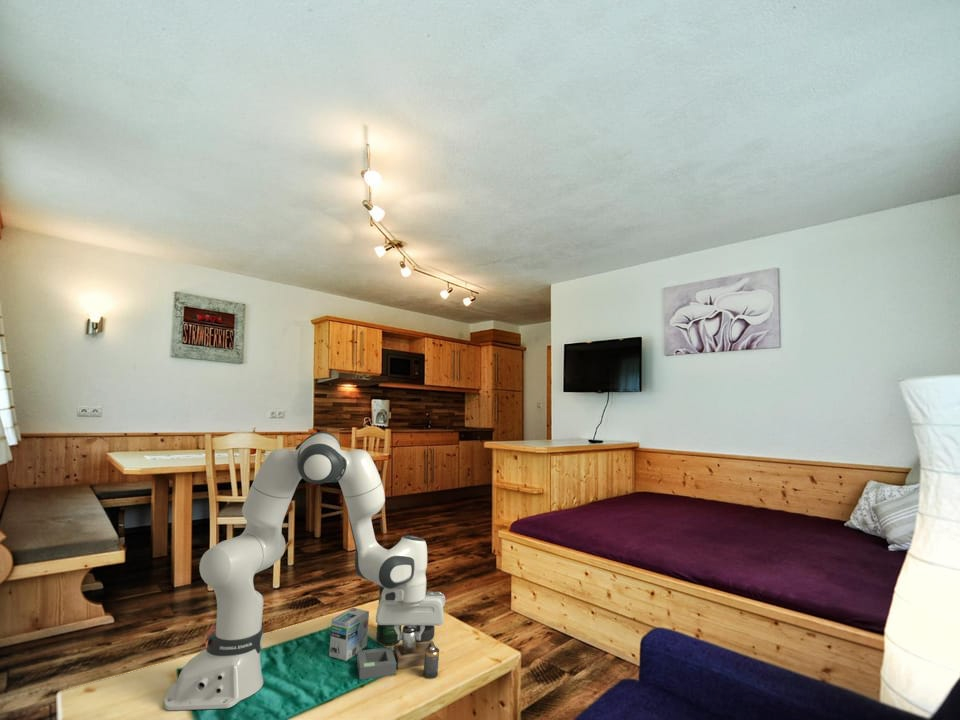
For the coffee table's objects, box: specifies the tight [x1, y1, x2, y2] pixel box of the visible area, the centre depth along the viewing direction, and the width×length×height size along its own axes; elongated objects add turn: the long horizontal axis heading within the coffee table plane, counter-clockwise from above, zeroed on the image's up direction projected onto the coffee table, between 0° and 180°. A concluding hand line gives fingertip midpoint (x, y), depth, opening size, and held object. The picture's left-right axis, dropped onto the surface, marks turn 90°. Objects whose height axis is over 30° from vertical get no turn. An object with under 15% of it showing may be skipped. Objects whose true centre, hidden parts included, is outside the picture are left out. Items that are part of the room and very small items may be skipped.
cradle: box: [356, 646, 397, 680], centre depth 139 cm, size 10×10×3 cm
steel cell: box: [401, 625, 417, 654], centre depth 144 cm, size 4×4×7 cm
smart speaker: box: [416, 625, 436, 643], centre depth 159 cm, size 9×9×4 cm
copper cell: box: [422, 646, 440, 680], centre depth 137 cm, size 4×4×7 cm
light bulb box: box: [328, 607, 370, 662], centre depth 148 cm, size 11×7×11 cm, turn 158°
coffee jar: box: [376, 585, 403, 646], centre depth 158 cm, size 10×8×19 cm
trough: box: [393, 640, 436, 670], centre depth 144 cm, size 12×8×3 cm, turn 108°
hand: (409, 639), depth 144 cm, fingers closed on steel cell, 4 cm apart
